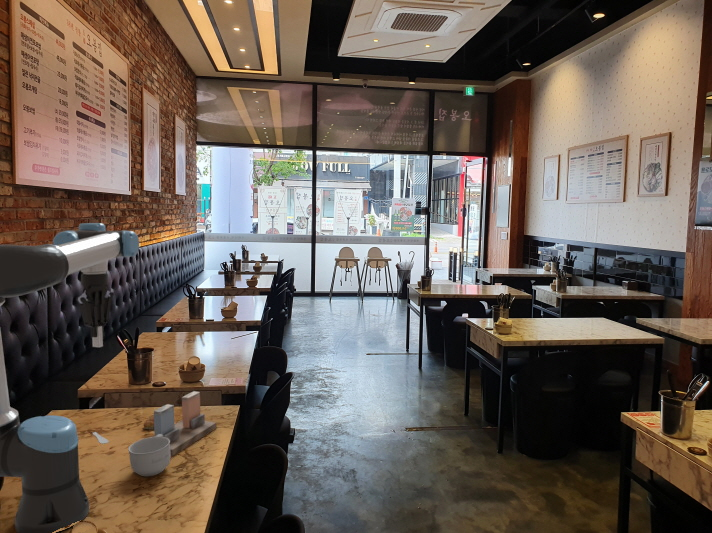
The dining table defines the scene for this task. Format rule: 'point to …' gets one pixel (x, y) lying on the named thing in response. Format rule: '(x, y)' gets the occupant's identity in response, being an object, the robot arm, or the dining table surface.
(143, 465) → the teacup
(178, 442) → the taupe stand
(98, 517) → the dining table surface
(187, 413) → the pink upright block
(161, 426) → the grey rectangular block
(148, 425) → the pastry
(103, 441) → the butter knife
